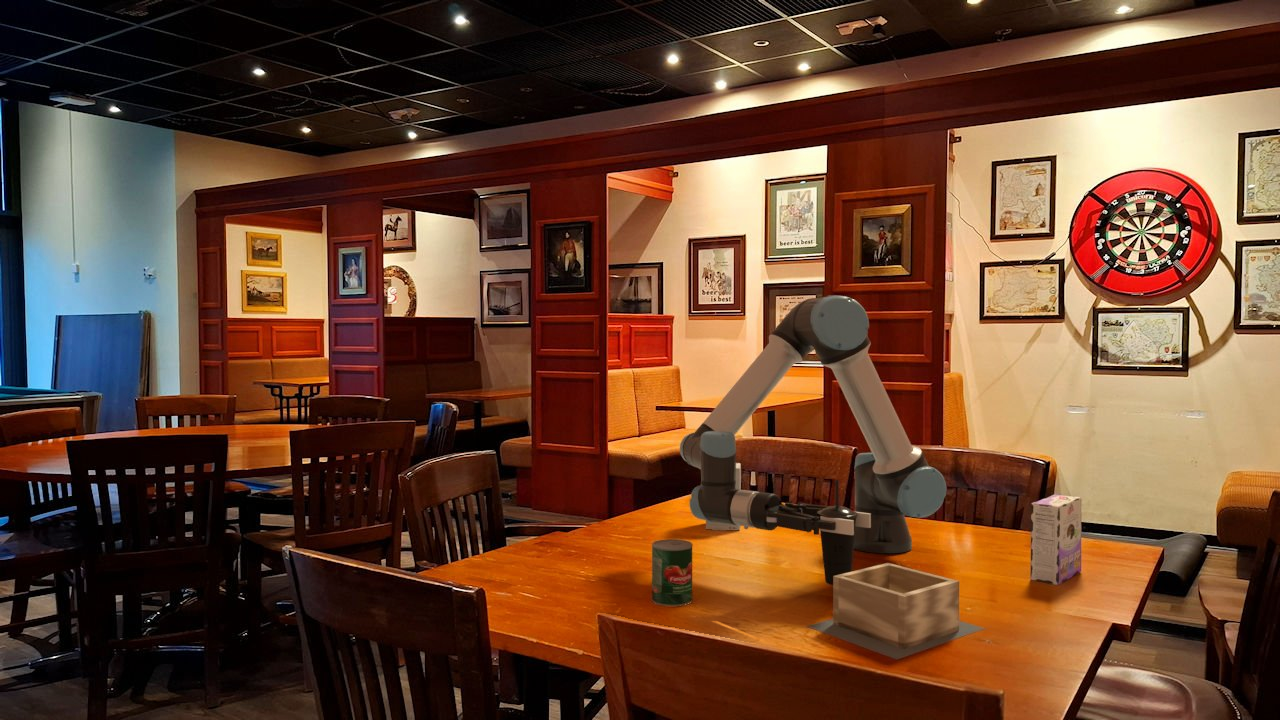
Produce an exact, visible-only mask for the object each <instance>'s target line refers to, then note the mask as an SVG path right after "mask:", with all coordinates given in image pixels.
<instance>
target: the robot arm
mask: <svg viewBox="0 0 1280 720" xmlns="http://www.w3.org/2000/svg"><path fill="white" fill-rule="evenodd" d="M869 329H870V321H869V317H868V314H867V312H866V309H865V308H864V307H863V306H862V304H860V303H859V302H858V301H857V300H856V299H853V298H851V297H848V296H845V295H844V296H843V295H835V294H833V295H827V296H823V297H812V298H807V299H805V300H803V301H801V302H799V303H798V304H796V305H795V306H794V307H793V308H792V309H790V311H789V312H788V313H787V314H786V315H785V316H784V318H783V319H782V320H781V321H780V322H779V324H778V325H777V326H776V327H775V329H774V330H773V331H772V332H771V333H770V334H769V335H768V343H767V345H766V346H765V348H763V350H762V351H761V352H760V353H759V355H758V356H757V357H756V358H755V359H754V361H753V362H752V363H751V364H750V365H749V366H748V368H747V369H746V370H745V372H744V373H743V374H742V375H741V377H739V379H738V380H737V381H736V382H735V384H734V385H733V386H732V387H731V388H730V389H729V391H728V392H727V393H726V394H725V395H724V397H723V398H722V399H721V401H720V402H719V403H718V404H717V405H716V407H714V409H713V410H712V411H711V412H710V414H709V415H708V416H707V417H706V418H705V420H704V421H703V422H702V423H701V424H700V425H699V427H697V429H696V430H695V431H694V432H691V433H688V434H686V435H684V437H683V438H682V440H681V441H680V445H679V453H680V456H681V457H682V459H683V460H684V461H685V462H686V463H687V464H688V465H689V466H692V467H693V468H697V469H699V470H700V479H701V480H700V485H697V486H696V487H694V488H693V489H692V491H691V493H690V495H691V497H690V499H689V509H690V511H691V514H692V516H694V517H695V518H697V519H698V520H701V521H702V520H703V521H705V522H706V521H709V522H716V523H725V524H732V525H739V526H740V527H742V526H743V529H744V530H748V529H749V528H756V529H758V530H764V531H773V530H775V529H777V527H779V528H784V529H789V530H794V531H800V532H806V533H811V532H812V531H813V535H817V536H818V535H820V529H821V531H825V532H832V533H839V534H846V535H854V520H848V519H840V518H828V517H822V516H821V517H820V520H819V516H818V515H817V512H818V511H820V510H822V509H824V508H827V507H831V506H830V505H819V504H811V503H804V502H797V503H793V502H785V503H784V504H783V503H782V501H781V499H780V497H779V496H778V495H777V494H776V493H770V492H763V491H761V492H760V491H756V490H755V491H754V490H745V489H741V490H738V489H736V463H737V446H736V437H735V435H736V434H737V433H738V431H739V430H741V428H742V427H743V426H744V424H745V423H746V422H747V421H748V420H749V419H750V418H751V416H752V415H753V414H754V412H755V411H756V410H757V409H758V408H759V407H760V405H761V404H762V403H763V402H764V400H766V398H767V397H768V396H769V395H770V393H771V392H772V391H773V390H774V389H775V387H776V386H777V385H778V384H779V382H780V381H781V380H782V379H783V378H784V376H785V375H786V374H788V372H789V371H790V369H791V368H792V367H793V366H794V365H795V363H801V362H803V360H804V359H805V358H806V356H808V355H809V354H810V353H811V352H813V351H814V352H815V353H816V356H817V357H818V359H819V362H820V364H821V365H822V366H823V367H827V368H829V369H831V370H832V373H833V375H834V377H835V379H836V381H837V383H838V385H839V387H840V389H841V391H842V393H843V395H844V398H845V400H846V401H847V403H848V406H849V408H850V410H851V412H852V414H853V416H854V418H855V420H856V422H857V425H858V427H859V428H860V431H861V433H862V434H863V437H864V439H865V442H866V444H867V445H868V447H869V449H870V452H861V453H858V454H857V455H856V456H855V460H854V466H853V467H854V468H853V469H854V511H855V512H857V514H858V516H857V517H856V524H855V537H854V549H855V550H857V551H861V552H867V553H872V554H873V553H876V554H900V553H906V552H910V551H911V550H912V549H913V539H912V536H911V534H910V531H909V529H910V528H909V527H908V524H907V521H906V517H911V518H912V517H913V518H926V517H927V518H928V517H929V516H931V515H933V514H935V513H936V512H937V511H938V510H939V509H940V508H941V506H942V505H943V503H944V499H945V498H946V495H947V483H946V480H945V477H944V476H943V474H942V473H941V472H940V471H939V470H938V469H937V468H935V467H932V466H930V465H929V463H928V461H927V459H926V457H925V455H924V452H923V451H922V449H921V448H920V447H919V446H915V445H912V443H911V441H910V439H909V438H908V435H907V433H906V431H905V429H904V427H903V424H902V423H901V420H900V418H899V416H898V414H897V412H896V410H895V408H894V406H893V403H892V402H891V401H892V400H891V398H890V397H889V394H888V393H887V391H886V389H885V387H884V384H883V382H882V380H881V379H880V377H879V374H878V372H877V370H876V368H875V365H874V363H873V362H872V359H871V357H870V355H869V349H870V346H871V343H872V342H871V341H870V338H869V336H868V332H869V331H868V330H869ZM839 506H841V505H840V504H839ZM905 516H906V517H905ZM854 549H853V550H854Z"/></svg>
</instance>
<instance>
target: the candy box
mask: <svg viewBox="0 0 1280 720" xmlns="http://www.w3.org/2000/svg"><path fill="white" fill-rule="evenodd" d="M1030 504H1031V505H1030V509H1031V511H1030V580H1031V581H1035V582H1040V583H1045V584H1050V585H1054V586H1059V585H1061V584H1062V583H1064V582H1066V581H1068V580H1069V579H1071V578H1073V577H1075V576H1076V575H1077V574H1080V573H1082V497H1081V496H1072V495H1063V494H1052V495H1050V496H1048V497H1045V498H1042V499H1040V500H1037V501H1034V502H1031V503H1030Z"/></svg>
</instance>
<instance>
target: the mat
mask: <svg viewBox="0 0 1280 720" xmlns="http://www.w3.org/2000/svg"><path fill="white" fill-rule="evenodd" d="M806 627H807V628H809V629H813V630H815V631H818V632H820V633H823V634H826V635H828V636H832V637H834V638H836V639H839V640H843V641H844V642H848V643H851V644H854V645H856V646H859V647H862V648H863V649H867V650H870V651H873V652H875V653H878V654H880V655H883V656H886V657H887V658H888V657H889V658H892V659H894V660H900V659H902V658H905V657H908V656H912V655H914V654H917V653H920V652H923V651H925V650H928V649H932V648H934V647H936V646H941V645H943V644H946V643H948V642H952V641H954V640H957V639H960V638H963V637H966V636H968V635H971V634H974V633H977V632H979V631H982V630H985V629H986V628H985V627H981V626H978V625H976V624H972V623H969V622H968V623H967V622H964V621H961V620H959V631H956V632H953V633H950V634H947V635H944V636H941V637H939V638H936V639H933V640H930V641H927V642H924V643H921V644H918V645H915V646H912V647H909V648H906V649H902V648H900V647H897V646H894V645H891V644H888V643H885V642H882V641H880V640H877V639H874V638H871V637H868V636H865V635H862V634H860V633H857V632H854V631H851V630H848V629H845V628H843V627H840V626H837V625H834V624H833V618H830V619H827V620H823V621H819V622H817V623H813V624H810V625H807V626H806Z"/></svg>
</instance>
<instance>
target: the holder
mask: <svg viewBox="0 0 1280 720" xmlns="http://www.w3.org/2000/svg"><path fill="white" fill-rule="evenodd" d="M832 590H833V591H832V592H833V593H832V597H833V601H832V603H833V604H832V605H833V607H832V610H833V611H832V613H833V615H832V619H833V624H834V625H837V626H840V627H843V628H845V629H848V630H851V631H854V632H857V633H860V634H862V635H865V636H868V637H871V638H874V639H877V640H880V641H882V642H885V643H888V644H891V645H894V646H897V647H900V648H902V649H906V648H909V647H912V646H915V645H918V644H921V643H924V642H927V641H930V640H933V639H936V638H939V637H941V636H944V635H947V634H950V633H953V632H956V631H959V621H960V580H957V579H952V578H948V577H945V576H940V575H937V574H933V573H928V572H925V571H921V570H917V569H913V568H909V567H906V566H901V565H899V564H894V563H890V562H886V563H882V564H877V565H873V566H869V567H865V568H860V569H857V570H854V571H853V570H852V572H848V573H844V574H840V575H836V576H833V585H832Z"/></svg>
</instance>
